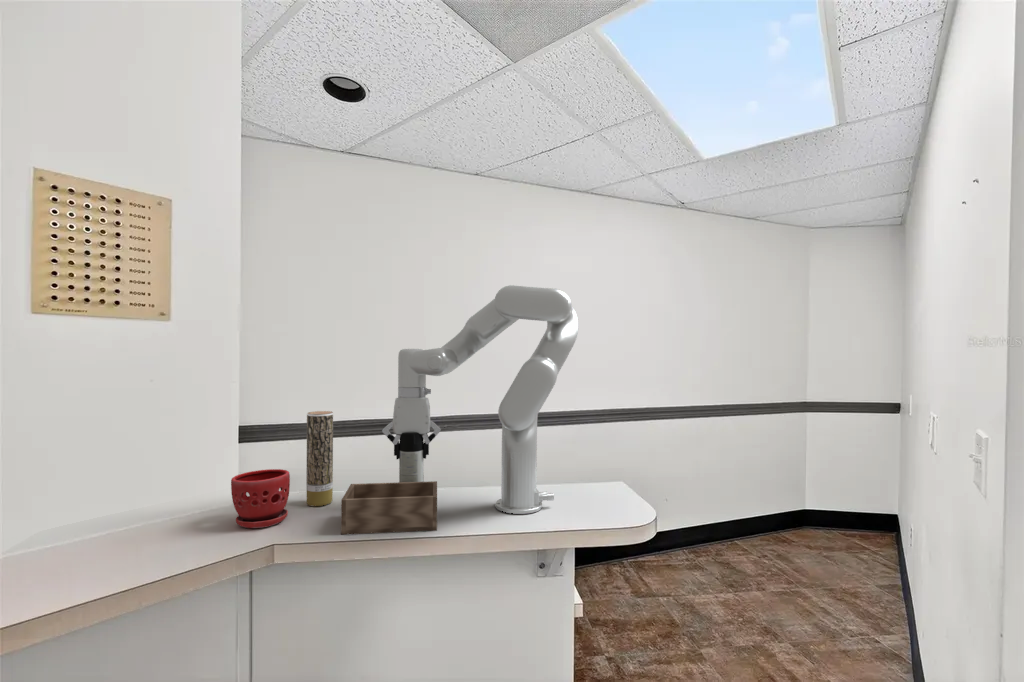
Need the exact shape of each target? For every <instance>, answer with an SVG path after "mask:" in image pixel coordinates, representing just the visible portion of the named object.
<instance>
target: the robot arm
mask: <svg viewBox="0 0 1024 682" xmlns="http://www.w3.org/2000/svg"><path fill="white" fill-rule="evenodd" d="M518 320H529V321H539V322H540V321H542V322H546V323H547V324H546V330H545V331H544V333H543V335H542V337H541V338H540V341H539V342H538V345H537V346H536V348H535V349H534V351H533V352H532V355H531V356H530V358H528V359H527V360H526V361H525V362H524V363H523V365H522V366H521V367H520V369H519V370H518V372H517V374H516V376H515V377H514V379H513V381H512V382H511V385H510V386H509V388H508V390H507V392H506V393H505V395H504V397H503V398H502V400H501V402H500V404H499V407H498V411H497V412H498V413H497V414H498V419H499V421H500V423H501V425H502V426H501V427H502V428H501V430H502V431H501V484H500V485H501V496H500V497H501V498H499V499H497V500H496V501H495V508H496V509H497V511H500V512H502V511H503V512H502V513H505V512H506V513H507V514H511V513H513V514H512V515H526V514H533V513H536V512H538V511H540V510H542V508H543V503H542V502H543V501H554V500H555V494H554V492H553V493H552V492H550V493H549V492H548V491H539V490H538V489H537V470H538V468H537V464H538V463H537V458H538V457H537V456H538V455H537V453H538V452H537V450H538V418H539V417H538V415H539V412H540V410H541V409H542V408H543V406H544V404H545V402H546V401H547V399H548V397H549V395H550V393H552V392H551V391H552V390H553V388H554V387H555V385H556V382H557V378H558V375H559V373H560V371H561V369H562V367H563V366H564V364H565V362H566V360H567V359H568V357H569V355H570V353H571V351H572V349H573V347H574V345H575V343H576V340H577V339H578V333H579V319H578V316H577V312H576V310H575V308H574V306H573V304H572V300H571V298H570V296H569V294H567V293H566V292H565V291H564V290H561V289H558V288H553V287H552V288H549V287H538V286H536V287H535V286H523V285H514V284H513V285H511V284H510V285H506V286H504V287H502V288H500V289H499V290H498V291H497V293H496V294H495V297H494V298H493V299H492V300H490V301H489V302H488V303H487V304H485V306H483V307H482V308H480V310H478V311H477V312H476V313H474V314H473V315H471V316H470V317H469V318H468V320H467V321H466V322H465V324H464V326H463V327H462V329H461V330H460V332H458V333H457V334H456V335H455V336H454V337H453V338H451V339H450V340H449V341H448V342H446V343H445V344H444V345H443V346H440V347H437V348H429V349H422V348H402V349H400V350H399V352H398V357H397V358H398V359H397V363H398V365H397V366H398V367H397V369H398V370H397V371H398V372H397V373H398V374H397V376H398V377H397V387H398V388H397V397H396V398H395V399H394V406H393V415H392V421H391V422H389V423H388V424H387V425H386V426H385V427H384V428H383V429H382V430H381V432H382V433H383V434H384V435H385V437H386V438H387V439H388V440H389V441H390V442H391V443H392V444H393V456H396V459H395V460H399V443H400V435H401V434H402V433H419V434H420V435H422V437H423V439H424V457H423V458H424V460H426V459H427V456H429V455H430V454H429V453H430V452H429V450H430V443H431V442H432V441H433V440H434V439H435V438H436V436H438V434H439V433H440V432H441V430H442V429H441V427H440V426H438V425H437V424H436V423H435V422H434V421H433V420H432V419H431V406H430V399H429V397H427V396H428V395H431V393H432V390H431V389H430V388H427V383H426V382H427V376H432V377H440V376H444V375H447V374H450V373H451V372H453V371H455V370H456V369H457V368H459V367H460V366H461V365H463V363H465V362H467V361H468V359H470V358H471V357H473V356H474V355H475V354H476V353H477V352H479V351H480V350H481V349H482V348H483V349H484V347H486V346H487V345H488V344H489V343H490V342H492V341H493V340H494V339H495V338H497V337H498V336H499V335H500V334H502V333H503V332H504V331H505V330H507V329H508V328H509V327H511V326H512V325H514V323H515V324H516V322H517V321H518ZM431 428H432V429H433V432H431V434H430V435H428V434H429V433H430V430H431ZM391 429H392V432H393V434H392V433H391V432H390V430H391ZM394 435H395V436H394Z"/></svg>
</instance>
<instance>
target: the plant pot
mask: <svg viewBox="0 0 1024 682" xmlns="http://www.w3.org/2000/svg"><path fill="white" fill-rule="evenodd" d="M290 477H291V474H290V472H289V471H288V470H286V469H279V468H278V469H277V468H274V469H273V468H271V469H270V468H269V469H260V470H258V469H257V470H253V471H252V470H251V471H248V472H244V473H243V472H242V473H239V474H236V475H235V476H233V477H232V478H231V480H230V491H231V492H230V493H231V498H232V503H233V506H234V509H235V511H236V513H237V514H238V515H237V516H236V518H235V522H236V524H237V525H238V526H240V527H241V528H245V529H260V528H267V527H271V526H276V525H277V524H281V522H283V521H284V520H285V519H286V518H287V516H288V515H289V511H288V510H287V509H286V506H287V504H288V500H289V496H290V487H291V486H290V485H291V478H290ZM247 493H248V495H247Z"/></svg>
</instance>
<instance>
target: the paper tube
mask: <svg viewBox="0 0 1024 682" xmlns="http://www.w3.org/2000/svg"><path fill="white" fill-rule="evenodd" d="M333 463H334V412H333V411H331V410H327V411H326V410H317V411H310V412H307V413H306V487H305V488H306V504H307V506H310V507H323V505H324V506H328V505H330V504H331V503H332V502H333V499H334V498H333V496H334V495H333V491H334V490H333V489H334V488H333V487H334V486H333V485H334V483H333V482H334V480H333V478H334V477H333V475H334V473H333V472H334V471H333V470H334V468H333V466H334V464H333ZM327 504H328V505H327Z"/></svg>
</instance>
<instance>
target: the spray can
mask: <svg viewBox="0 0 1024 682" xmlns="http://www.w3.org/2000/svg"><path fill="white" fill-rule="evenodd" d="M423 457H424V439H423V437H422V435H420V434H419V433H402V434H401V435H400V439H399V459H398V461H399V462H398V463H399V468H398V470H399V471H398V473H399V474H398V475H399V476H398V478H399V479H398V480H399V481H398V482H425V481H424V477H425V476H424V473H425V472H424V471H425V470H424V469H425V467H424V466H425V465H424V463H425V462H424V461H425V459H424V458H423Z"/></svg>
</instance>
